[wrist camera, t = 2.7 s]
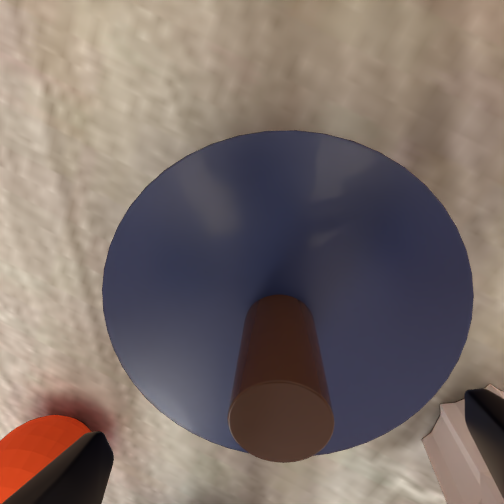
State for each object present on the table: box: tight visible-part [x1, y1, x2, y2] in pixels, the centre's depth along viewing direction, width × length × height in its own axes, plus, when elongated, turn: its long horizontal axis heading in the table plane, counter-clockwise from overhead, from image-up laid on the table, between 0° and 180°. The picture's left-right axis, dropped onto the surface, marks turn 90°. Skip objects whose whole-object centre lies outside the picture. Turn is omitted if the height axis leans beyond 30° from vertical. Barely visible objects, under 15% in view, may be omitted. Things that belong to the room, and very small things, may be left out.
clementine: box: [0, 415, 91, 504], centre depth 21 cm, size 8×7×7 cm
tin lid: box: [102, 130, 474, 463], centre depth 10 cm, size 14×14×6 cm
